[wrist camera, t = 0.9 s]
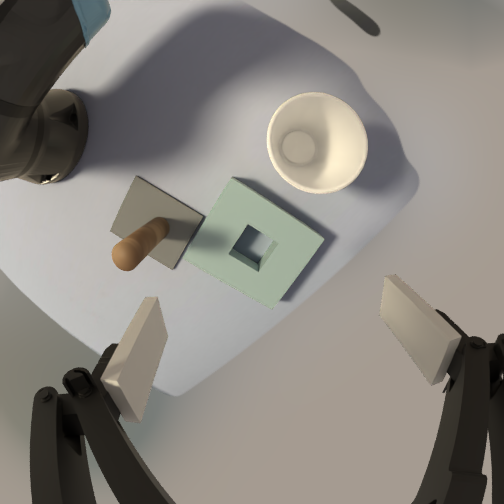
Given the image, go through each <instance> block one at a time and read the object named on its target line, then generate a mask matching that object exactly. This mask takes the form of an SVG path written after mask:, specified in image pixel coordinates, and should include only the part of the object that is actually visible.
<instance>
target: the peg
mask: <svg viewBox="0 0 504 504" xmlns="http://www.w3.org/2000/svg"><path fill="white" fill-rule="evenodd" d="M169 230H170V227H169V223H168V222H167V220H166V219H164V218H162V217H156V218H154V219H152V220H151V221H149V222H148V223H146V224H145V225H143V226H142V227H140V228H139V229H137V230H136V231H134V232H133V233H132V234H130V235H129V236H127V237H126V238H124V239H123V240H122V241H120V242H119V243H118V244H116V245H115V246H114V248H113V250H112V259H113V262H114V263H115V265H116V266H117V267H118V268H119V269H121V270H123V271H131V270H133V269H134V268H135V267H136V266H137V265H138V264H139V263H140V262H141V261H142V260H143V259H144V258H145V257H146V256H147V255H148V254H149V253H150V252H151V251H152V250H153V249H154V248H155V247H156V246H157V245H158V244H159V243H160V242H161V241H162V240H163V239H164V238H165V237H166V236H167V234H168V233H169Z"/></svg>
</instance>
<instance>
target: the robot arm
mask: <svg viewBox="0 0 504 504" xmlns="http://www.w3.org/2000/svg"><path fill="white" fill-rule="evenodd" d="M110 14H111V8H110V4H109V2H108V0H0V181H4V180H9V179H13V178H19V179H22V180H25V181H29V182H32V183H35V184H49V183H54V182H57V181H59V180H61V179H63V178H64V177H66V176H67V175H68V174H69V173H70V172H71V171H72V170H73V169H74V167H75V166H76V164H77V163H78V161H79V159H80V157H81V155H82V153H83V150H84V147H85V144H86V140H87V134H88V117H87V112H86V109H85V106H84V104H83V102H82V101H81V99H80V98H79V97H78V96H77V95H75V94H74V93H72V92H69V91H66V90H62V89H51V88H52V86H53V85H54V84H55V82H56V81H57V80H58V78H59V77H60V76H61V74H62V73H63V72H64V71H65V69H66V68H67V67H68V66H69V65H70V63H71V62H72V61H73V60H74V59H75V58H76V56H77V55H78V54H79V53H80V52H81V51H82V50H83V49H84V48H86V47H87V46H88V45H89V41H90V40H91V39H92V38H93V37H94V36H95V35H96V34H97V32H98V31H99V30H100V29H101V28H102V27H103V26H104V25H105V24H106V23H107V21H108V20H109V17H110ZM50 89H51V90H50ZM379 316H380V317H381V318H382V319H383V321H384V322H385V323H386V325H387V326H388V327H389V329H390V330H391V331H392V333H393V334H394V335H395V337H396V338H397V339H398V341H399V342H400V343H401V345H402V346H403V347H404V348H405V350H406V351H407V353H408V354H409V356H410V357H411V358H412V359H413V361H414V362H415V364H416V365H417V367H418V368H419V370H420V371H421V372H422V373H423V375H424V377H425V378H426V379H427V381H428V382H429V384H430V385H431V386H432V385H435V384H437V383H439V382H442V381H443V379H444V377H445V375H446V373H448V374H449V375H450V378H449V381H448V382H447V384H446V387H445V388H444V390H443V393H444V392H445V391H446V396H445V402H444V407H443V412H442V416H441V421H440V425H439V430H438V433H437V438H436V441H435V444H434V448H433V451H432V455H431V458H430V461H429V464H428V467H427V470H426V473H425V475H424V478H423V481H422V484H421V486H420V488H419V491H418V493H417V496H416V498H415V499H414V501H413V502H412V504H482V501H483V497H484V493H485V489H486V485H487V476H486V475H483V474H482V466H483V461H484V455H485V449H486V441H487V433H488V432H489V440H490V450H491V464H492V504H504V334H500V335H499V336H498V338H497V340H496V342H495V343H486V342H485V341H484V340H483V339H482V338H480V337H476V336H472V337H468V336H467V335H466V334H465V333H464V332H463V331H462V330H461V329H460V328H459V327H458V326H457V325H456V324H454V322H453V321H452V320H450V318H449V317H448V316H447V315H446V314H445V313H443V312H441V311H439V310H437V309H436V310H434V309H433V308H432V307H431V306H430V305H429V304H428V303H427V302H426V301H425V300H424V299H422V298H421V297H420V296H419V295H418V294H417V293H416V292H415V291H414V290H413V289H412V288H410V287H409V286H408V285H407V284H406V283H405V282H404V281H402V280H401V279H400V278H399V277H398V276H397V275H396V274H395V275H388V276H385V280H384V288H383V294H382V301H381V308H380V313H379ZM167 338H168V334H167V331H166V327H165V323H164V320H163V316H162V312H161V308H160V304H159V300H158V297H145V299H144V300H143V302H142V304H141V306H140V307H139V309H138V311H137V312H136V314H135V316H134V318H133V319H132V321H131V323H130V325H129V326H128V328H127V330H126V332H125V334H124V335H123V337H122V339H121V341H120V343H119V344H113V343H112V344H111V345H110V346H109V347H108V348H106V349H105V351H104V353H103V354H102V356H101V358H100V360H99V362H98V364H97V365H96V367H95V369H94V371H93V372H92V374H90V373H89V371H88V370H87V369H85V368H79V367H78V368H74V369H72V370H70V371H68V372H67V373H66V374H65V375H64V377H63V385H64V387H65V388H66V390H67V391H68V394H58V392H57V391H56V390H55V388H53V387H44V388H41V389H40V390H39V391H38V392H37V393H36V394H35V397H34V402H33V411H32V421H31V437H30V478H31V494H32V504H96V500H95V496H94V491H93V487H92V482H91V477H90V472H89V467H88V460H87V454H86V446H85V438H84V435H85V436H86V438H87V441H88V443H89V445H90V448H91V450H92V452H93V455H94V457H95V459H96V461H97V463H98V465H99V467H100V469H101V471H102V473H103V475H104V477H105V479H106V481H107V483H108V484H109V486H110V488H111V490H112V492H113V493H114V495H115V497H116V498H117V500H118V502H119V503H120V504H176V503H175V502H174V501H173V500H172V498H171V497H170V496H169V495H168V493H167V492H166V491H165V490H164V488H163V487H162V486H161V485H160V483H159V482H158V481H157V479H156V478H155V477H154V475H153V474H152V473H151V471H150V470H149V468H148V467H147V465H146V464H145V462H144V461H143V460H142V458H141V457H140V455H139V453H138V452H137V450H136V449H135V447H134V446H133V444H132V443H131V441H130V440H129V438H128V436H127V434H126V432H125V431H124V429H123V427H122V426H121V424H120V422H119V421H118V419H119V416H120V414H121V415H122V417H123V418H124V420H125V421H127V422H135V423H141V420H142V416H143V413H144V410H145V407H146V403H147V400H148V397H149V393H150V390H151V387H152V384H153V381H154V377H155V374H156V371H157V368H158V365H159V362H160V359H161V356H162V353H163V350H164V347H165V344H166V341H167ZM502 374H503V380H502V377H501V376H502Z"/></svg>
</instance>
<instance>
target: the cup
mask: <svg viewBox="0 0 504 504" xmlns="http://www.w3.org/2000/svg"><path fill="white" fill-rule="evenodd" d="M267 149H268V152H269V156H270V159H271V161H272V163H273V165H274V167H275V169H276V170H277V171H278V173H279V174H280V175H281V176H282V177H283V178H284V179H285V180H286V181H287V182H288V183H289V184H291V185H293V186H294V187H296V188H298V189H300V190H303V191H305V192H309V193H315V194H327V193H332V192H336V191H338V190H341V189H343V188H345V187H346V186H348V185H349V184H350V183H352V182H353V181H354V180H355V179H356V178H357V176H358V175H359V174H360V172H361V170H362V169H363V167H364V164H365V161H366V159H367V152H368V139H367V135H366V130H365V128H364V125H363V123H362V121H361V119H360V118H359V116H358V115H357V113H356V112H355V111H354V110H353V109H352V108H351V107H350V106H349V105H348V104H346V103H345V102H344V101H342V100H341V99H339V98H337V97H335V96H332V95H329V94H325V93H319V92H309V93H303V94H299V95H297V96H294V97H292V98H290V99H289V100H287V101H286V102H284V103H283V104H282V105H281V106H280V107H279V108H278V109H277V110H276V112H275V113H274V115H273V117H272V118H271V121H270V124H269V126H268V132H267Z"/></svg>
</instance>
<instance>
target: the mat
mask: <svg viewBox="0 0 504 504" xmlns="http://www.w3.org/2000/svg"><path fill="white" fill-rule="evenodd" d="M156 217H162V218H164V219H166V220H167V222H168V223H169V227H170V230H169V233H168V234H167V236H166V237H165V238H164V239H163V240H162V241H161V242H160V243H159V244H158V245H157V246H156V247H155V248H154V249H153V250H152V251H151V252H150V253H149V254H148V255H149V256H150V257H152V258H153V259H155V260H157V261H158V262H160V263H162V264H163V265H165V266H167V267H168V268H170V269H172V270H173V268H174V266H175V264H176V263H177V261H178V259H179V257H180V256H181V254H182V252H183V250H184V249H185V247H186V245H187V243H188V242H189V240H190V238H191V236H192V235H193V233H194V231H195V230H196V228H197V226H198V225H199V223H200V221H201V219H202V218H203V216H202V215H201V214H199V213H197V212H196V211H194V210H192V209H191V208H189V207H188V206H186V205H184V204H183V203H181V202H179V201H178V200H176V199H174V198H173V197H171V196H169V195H168V194H166V193H164V192H163V191H161V190H159V189H158V188H156V187H154V186H153V185H151V184H149V183H148V182H146V181H144V180H143V179H141V178H139V177H138V176H136V177H135V178H134V180H133V182H132V184H131V186H130V189H129V191H128V193H127V195H126V197H125V199H124V201H123V203H122V205H121V207H120V210H119V212H118V214H117V216H116V219H115V221H114V223H113V226H112V228H111V230H110V231H111V232H112V233H114V234H115V235H117V236H119V237H120V238H122V239H124V238H126V237H127V236H129V235H130V234H132V233H133V232H134V231H136V230H137V229H139V228H140V227H142V226H143V225H145V224H146V223H148V222H149V221H151V220H152V219H154V218H156Z"/></svg>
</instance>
